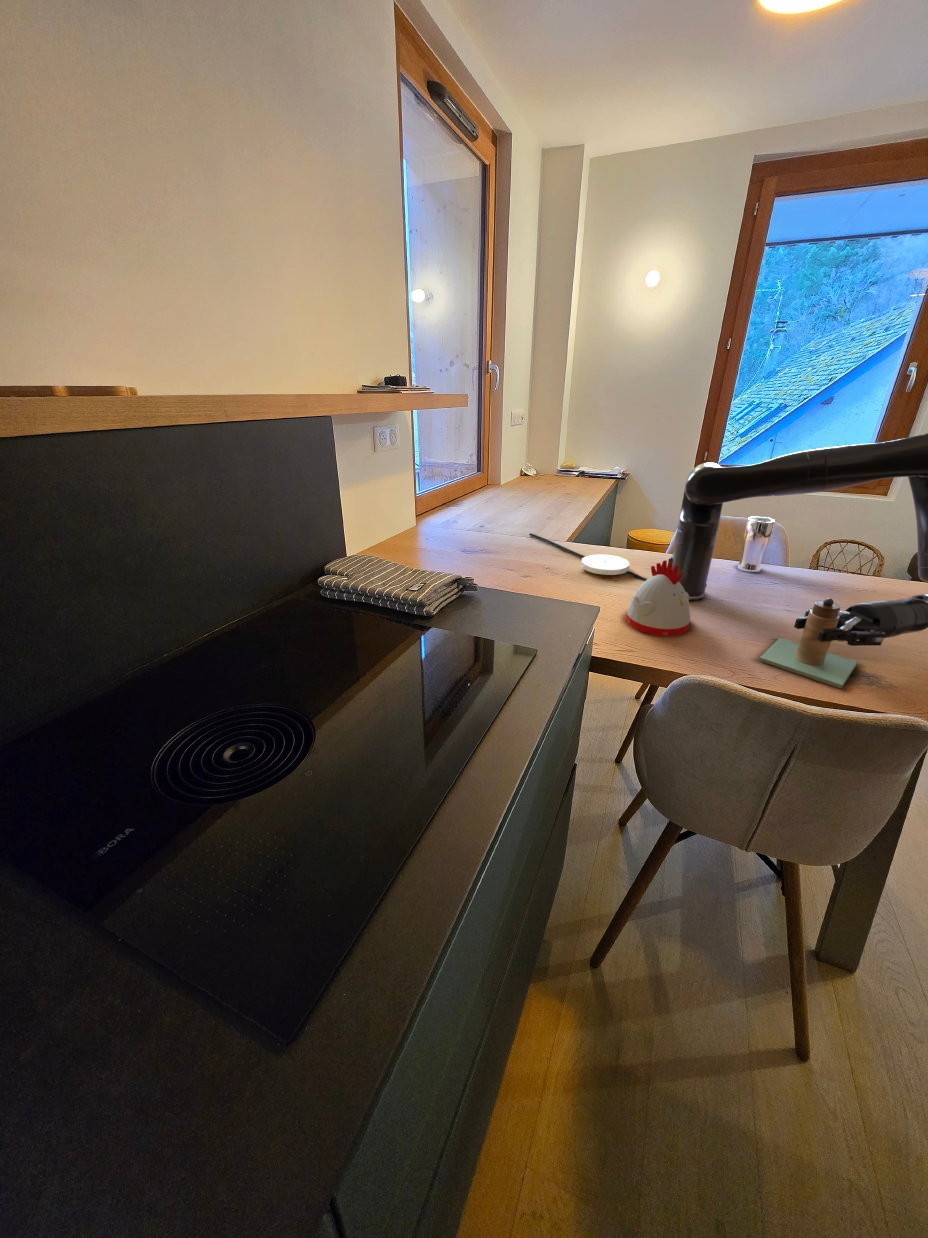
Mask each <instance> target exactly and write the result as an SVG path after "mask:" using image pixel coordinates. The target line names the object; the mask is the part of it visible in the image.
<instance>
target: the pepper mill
mask: <svg viewBox="0 0 928 1238" xmlns="http://www.w3.org/2000/svg"><path fill="white" fill-rule="evenodd" d="M812 608H813V610H810V612H809V615H808V618H807V621H806V624H805V627H804V628H803V630H802V633H801V636H800V639H799V642H798V644H799V646H798V649H797V652H796V655H795V657H796V659H797V660H799V661H800V662H803V663H805V664H809V665H822V664H823V663H824V660H825V657H826V655H827V652H828V653H829V649H830V647H831V643H832V641H825V642H821V641H819V640H818V636H819V633H820V631H821V630H826V629H833V628H836V626H837V624H838V621H839V618H840V617H839V615H838V613H839V611H841V606H840V605H839V604H837V603H835V601H834V599H833V598H831V597H827V598H824V599H823V600H815V602H814V604H813V607H812Z"/></svg>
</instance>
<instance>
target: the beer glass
mask: <svg viewBox="0 0 928 1238" xmlns="http://www.w3.org/2000/svg"><path fill="white" fill-rule="evenodd" d="M775 521H776V520H775V519H773V518H771V517H766V516H750V517H748V520H747V523H746V526H745V528H744V532H743V537H742V554H741V558H740V560H739V562H738V565H737V569H739V570H740V571H743V572H746V573H759V572H761V569H762V560H763V557H764V555H765V553H766V551H767V548H768V546H769V545H770V542H771V540H772V536H773V532H774V527H775Z"/></svg>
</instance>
